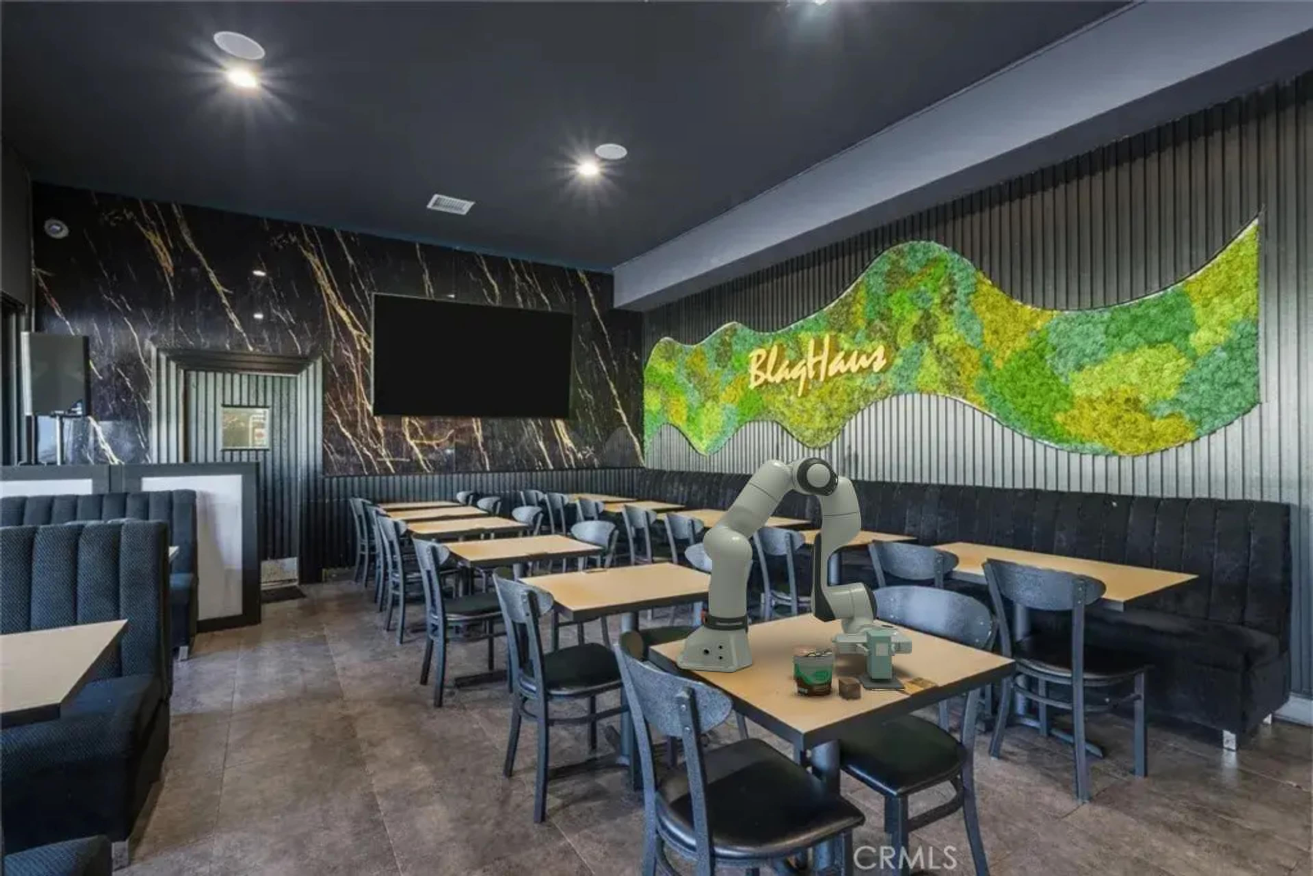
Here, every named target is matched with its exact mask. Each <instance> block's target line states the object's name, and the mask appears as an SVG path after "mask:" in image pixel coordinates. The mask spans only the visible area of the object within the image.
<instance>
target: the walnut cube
mask: <svg viewBox="0 0 1313 876" xmlns="http://www.w3.org/2000/svg"><path fill="white" fill-rule="evenodd" d="M837 681H838V682H837V683H838V695H839V696H841V697H842V699H843V700H845V699H846V700H845V701H850V700H849V699H853V700H860V699H859V698H861V699H862V692H861V691H862V690H861V688H862V684H861V683H860V681H859V680H858V679H856V678H855V677H854V676H853V677H852V676H851V677H843V678H838V679H837Z"/></svg>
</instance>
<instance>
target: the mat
mask: <svg viewBox="0 0 1313 876" xmlns="http://www.w3.org/2000/svg"><path fill="white" fill-rule="evenodd" d="M855 677H856V678H857V681H859V682H860V683H861V686H862V685H863V686H862V687H863V689H864V688H865V689H866V690H865V689H864V690H865V691H875V690H874V689H905V690H906V686H905V685H904V684H903V683H902V681H900V679H899V678H898V677H897V675H895V674H894V673H893V672H892V678H872V677H871V676H870V674H869V673H868V672H867V673H865V672H864V673H863V672H861V673H858V672H857V673H856V672H855ZM872 689H873V690H872Z"/></svg>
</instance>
